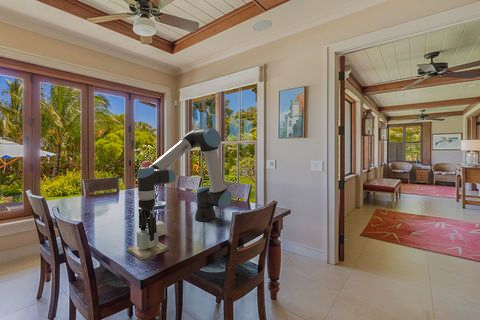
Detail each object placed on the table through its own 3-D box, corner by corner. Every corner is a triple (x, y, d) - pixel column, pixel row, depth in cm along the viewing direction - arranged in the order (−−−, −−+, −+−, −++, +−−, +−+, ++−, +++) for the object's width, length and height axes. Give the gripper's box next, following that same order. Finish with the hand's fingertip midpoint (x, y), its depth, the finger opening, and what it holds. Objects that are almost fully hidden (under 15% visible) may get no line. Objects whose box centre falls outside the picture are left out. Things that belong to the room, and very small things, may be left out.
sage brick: (152, 241, 120) (152, 228, 119) (158, 244, 116) (158, 231, 115) (137, 246, 114) (136, 232, 113) (142, 250, 110) (142, 235, 109)
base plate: (154, 242, 125) (154, 239, 125) (168, 249, 116) (168, 246, 115) (127, 251, 114) (127, 248, 114) (140, 260, 105) (140, 256, 105)
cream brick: (159, 232, 140) (159, 220, 140) (164, 234, 136) (164, 222, 136) (146, 235, 134) (146, 224, 134) (152, 238, 130) (151, 226, 130)
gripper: (130, 197, 117) (131, 242, 118) (148, 203, 104) (150, 253, 106) (144, 194, 123) (145, 237, 124) (163, 200, 110) (165, 247, 111)
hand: (147, 244), depth 115 cm, fingers closed on sage brick, 6 cm apart
